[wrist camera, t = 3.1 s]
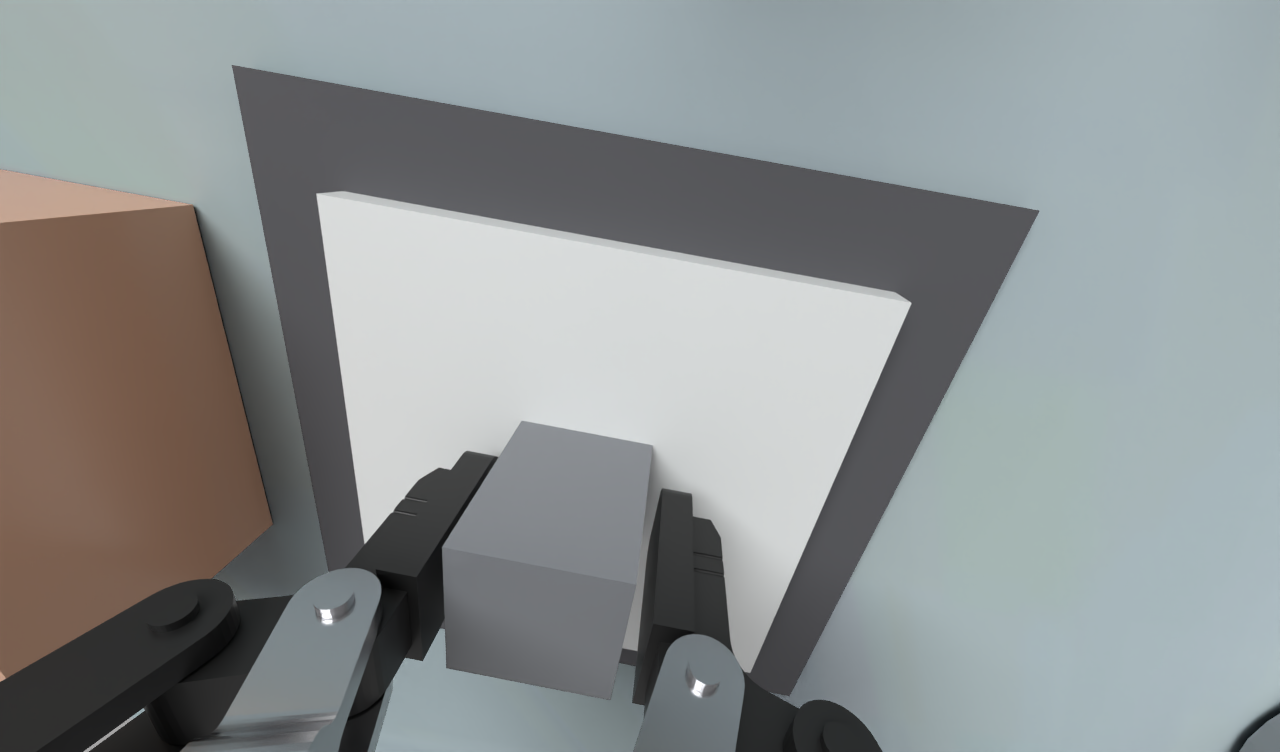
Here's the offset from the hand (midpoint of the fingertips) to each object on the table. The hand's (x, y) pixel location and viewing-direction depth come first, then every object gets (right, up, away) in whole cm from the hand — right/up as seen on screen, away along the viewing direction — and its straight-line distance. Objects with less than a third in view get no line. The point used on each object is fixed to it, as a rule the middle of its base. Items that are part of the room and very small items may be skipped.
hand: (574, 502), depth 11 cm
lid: (0, +1, +1) cm, 1 cm away
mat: (0, +1, +2) cm, 2 cm away
